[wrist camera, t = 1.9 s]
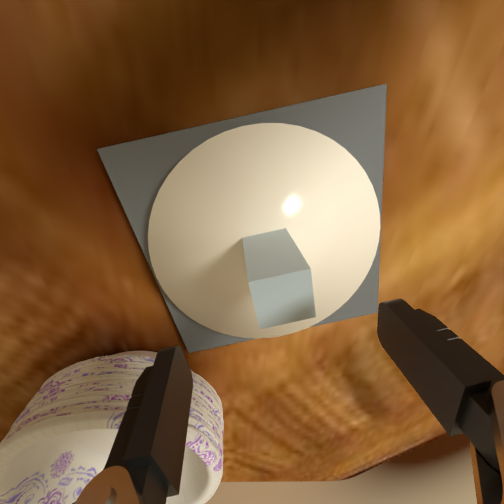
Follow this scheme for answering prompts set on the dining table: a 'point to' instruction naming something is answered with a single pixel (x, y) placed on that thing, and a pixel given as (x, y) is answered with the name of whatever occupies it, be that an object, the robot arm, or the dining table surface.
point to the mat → (184, 141)
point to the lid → (264, 230)
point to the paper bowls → (99, 433)
